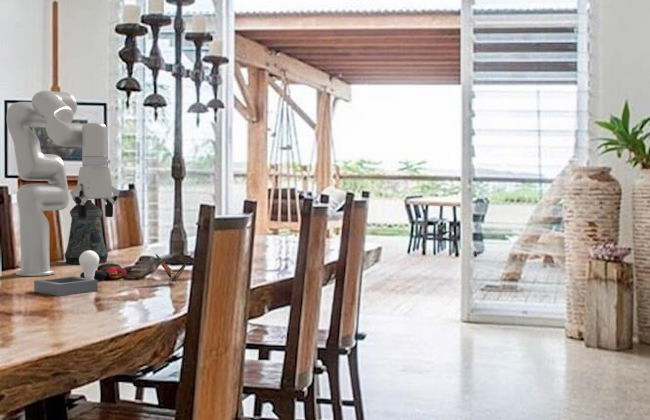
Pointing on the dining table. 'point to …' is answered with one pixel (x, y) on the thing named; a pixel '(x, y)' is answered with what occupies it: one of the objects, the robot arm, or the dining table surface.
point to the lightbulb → (89, 263)
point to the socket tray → (65, 285)
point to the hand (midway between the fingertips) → (95, 217)
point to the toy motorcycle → (109, 271)
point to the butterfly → (169, 271)
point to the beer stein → (85, 234)
